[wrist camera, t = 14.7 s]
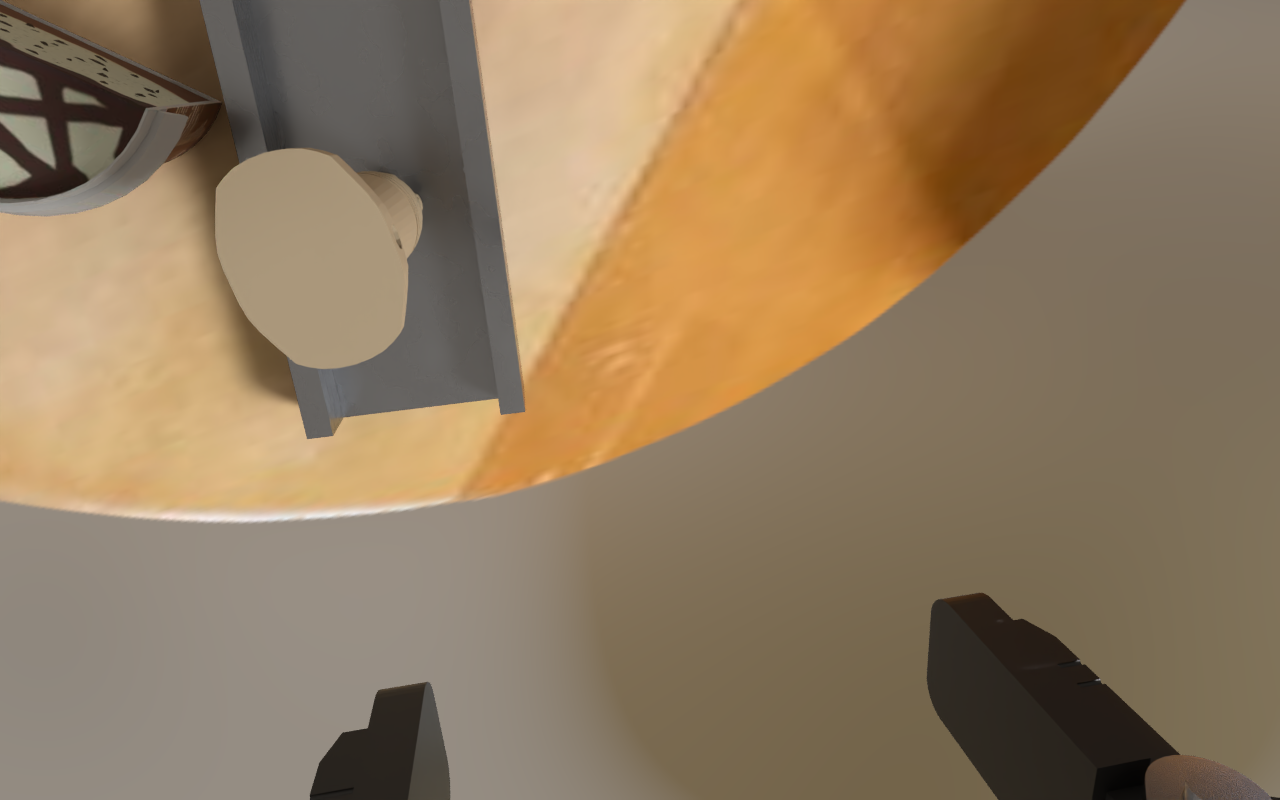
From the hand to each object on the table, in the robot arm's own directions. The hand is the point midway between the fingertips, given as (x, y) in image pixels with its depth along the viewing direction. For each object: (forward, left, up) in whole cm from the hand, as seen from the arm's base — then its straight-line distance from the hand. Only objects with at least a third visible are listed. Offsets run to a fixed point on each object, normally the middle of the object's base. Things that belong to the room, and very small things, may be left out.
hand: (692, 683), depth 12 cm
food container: (-10, -20, -30) cm, 38 cm away
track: (-5, -8, -30) cm, 32 cm away
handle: (-5, -8, -29) cm, 31 cm away
